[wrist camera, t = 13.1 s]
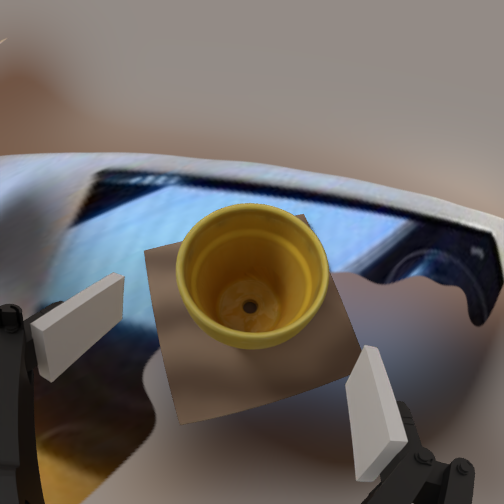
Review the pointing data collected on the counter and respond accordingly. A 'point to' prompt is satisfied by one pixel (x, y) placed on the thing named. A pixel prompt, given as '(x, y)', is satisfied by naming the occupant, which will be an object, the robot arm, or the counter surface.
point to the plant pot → (252, 275)
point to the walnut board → (242, 351)
